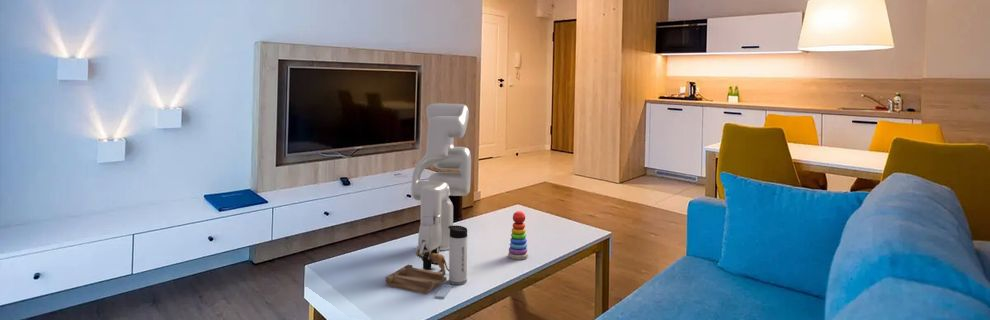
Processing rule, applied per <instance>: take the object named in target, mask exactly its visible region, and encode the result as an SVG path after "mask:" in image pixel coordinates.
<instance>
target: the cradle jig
mask: <svg viewBox="0 0 990 320" xmlns="http://www.w3.org/2000/svg"><path fill="white" fill-rule="evenodd" d="M445 281H447V276H445V274H444V273H442V272H438V271H433V270H424V268H423V269H422V268H418V267H417V268H416V267H413V265H412V264H407V265H405V266H403V267H401V268H400V269H398V270H396V271H394V272H393V273H391V274H389V275H387V276H386V277H385V286H387V287H390V288H396V289H400V290H405V291H410V292H414V293H418V294H423V295H427V294H428V293H430V292H431V291H432V290H434V289H436V288H437V287H439V286H440V285H442V284H443V283H444V282H445Z"/></svg>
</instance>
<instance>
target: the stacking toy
mask: <svg viewBox="0 0 990 320" xmlns="http://www.w3.org/2000/svg"><path fill="white" fill-rule="evenodd" d="M512 220H513V222H514V223H512V228H511V233H510V237H511V238H510V241H509V242H510V243H509V247H508V254H507V255H508V257H509V258H510V259H512V260H525V259H527V258H528V257H529V253H528V248H527V247H528V244H527V241H528V239H527V238H526V237H527V235H526V229H525V228H526V224H525V221H526V214H525V213H524V212H523V211H522V210H521V211H519V210H518V211H516V212H514V213H513V214H512Z"/></svg>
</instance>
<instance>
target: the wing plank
mask: <svg viewBox="0 0 990 320" xmlns="http://www.w3.org/2000/svg"><path fill="white" fill-rule="evenodd" d="M452 288H453V284H442V285H441V287H440V289H439V290H438V291H437V293H436V294H435V296H434V297H435V299H442V300H443V299H446V297H447V295H448V294H449V293H450V291H451V289H452Z"/></svg>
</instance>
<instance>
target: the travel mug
mask: <svg viewBox="0 0 990 320" xmlns="http://www.w3.org/2000/svg"><path fill="white" fill-rule="evenodd" d="M449 228H450V236H449V237H450V238H449V250H448V252H449V257H448V261H449V262H448V263H449V264H448V269H449V271H448V277H449V278H448V282H449V283H450V285H455V286H456V285H458V286H461V285H464V284H466V283H467V281H468V278H467V277H468V229H467V227H465V226H463V225H453V226H449ZM449 228H448V229H449Z"/></svg>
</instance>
